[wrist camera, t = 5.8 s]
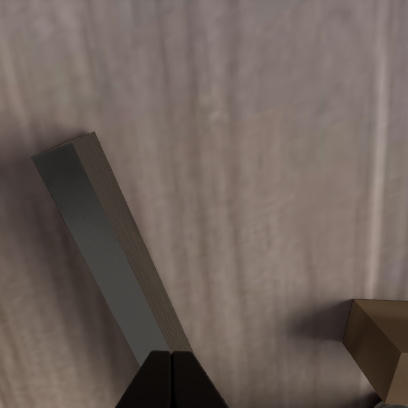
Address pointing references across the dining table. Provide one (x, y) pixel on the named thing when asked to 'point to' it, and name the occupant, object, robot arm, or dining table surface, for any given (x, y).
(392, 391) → the cradle
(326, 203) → the dining table surface
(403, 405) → the light bulb
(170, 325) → the bar
